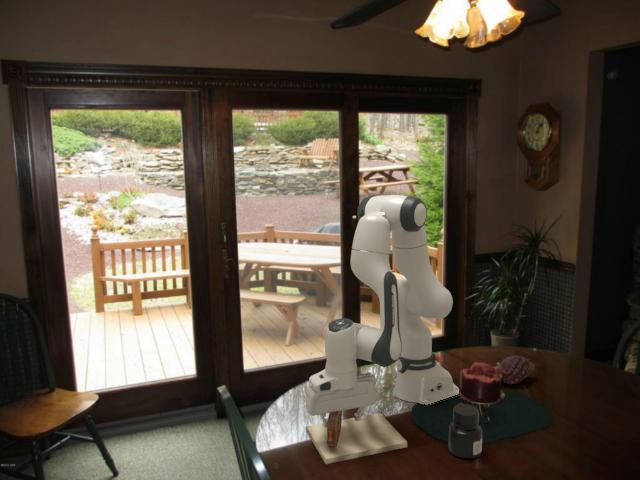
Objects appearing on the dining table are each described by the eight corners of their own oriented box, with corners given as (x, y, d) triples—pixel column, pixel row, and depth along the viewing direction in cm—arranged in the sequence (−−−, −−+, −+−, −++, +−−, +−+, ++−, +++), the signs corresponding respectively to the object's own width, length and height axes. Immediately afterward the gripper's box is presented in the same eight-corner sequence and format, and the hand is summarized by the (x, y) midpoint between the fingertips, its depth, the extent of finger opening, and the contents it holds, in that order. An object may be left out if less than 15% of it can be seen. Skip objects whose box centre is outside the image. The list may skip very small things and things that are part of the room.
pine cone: (525, 373, 193) (526, 347, 192) (544, 384, 184) (546, 357, 182) (484, 381, 187) (485, 354, 186) (502, 392, 178) (504, 364, 177)
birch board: (379, 417, 163) (379, 412, 163) (407, 447, 146) (407, 442, 146) (306, 431, 156) (306, 426, 155) (325, 464, 139) (325, 459, 138)
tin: (335, 452, 141) (337, 423, 140) (323, 450, 141) (326, 421, 140) (341, 425, 156) (344, 398, 154) (331, 423, 156) (333, 397, 155)
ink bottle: (484, 461, 138) (485, 419, 137) (449, 459, 140) (450, 417, 138) (479, 442, 148) (480, 402, 146) (447, 440, 149) (447, 400, 147)
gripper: (370, 367, 153) (371, 411, 155) (303, 378, 147) (305, 424, 149) (380, 376, 147) (380, 421, 149) (310, 387, 141) (311, 435, 143)
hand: (342, 423), depth 149 cm, fingers open, 8 cm apart
